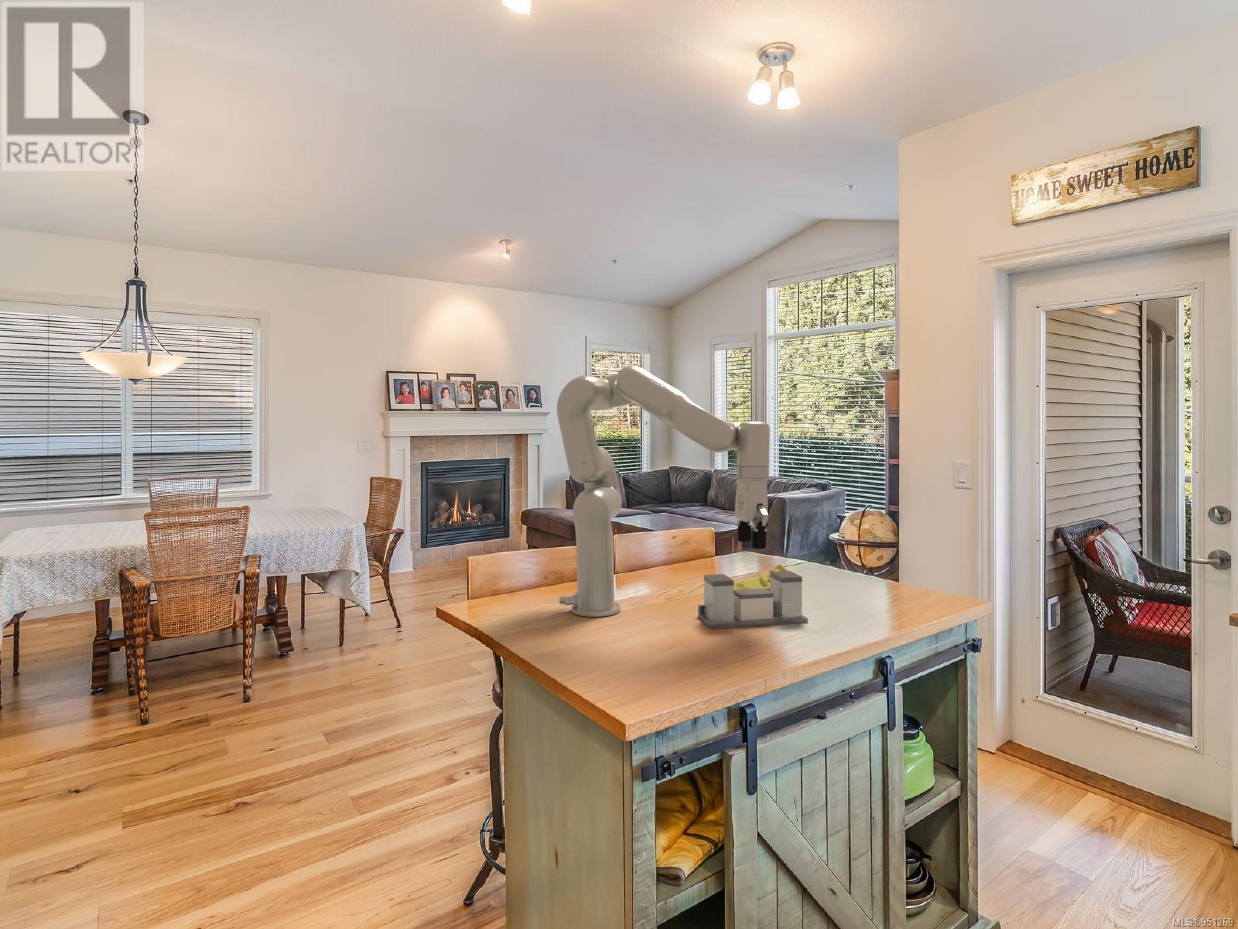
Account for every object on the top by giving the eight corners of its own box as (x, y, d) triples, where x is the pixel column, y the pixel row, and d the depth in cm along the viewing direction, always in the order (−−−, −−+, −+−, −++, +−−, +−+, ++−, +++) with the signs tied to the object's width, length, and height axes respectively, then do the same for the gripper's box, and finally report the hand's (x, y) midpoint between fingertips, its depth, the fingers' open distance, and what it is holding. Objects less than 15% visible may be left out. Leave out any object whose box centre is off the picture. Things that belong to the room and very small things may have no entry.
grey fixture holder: (710, 628, 153) (710, 582, 152) (698, 617, 163) (697, 573, 162) (807, 622, 157) (807, 577, 156) (789, 611, 167) (789, 569, 166)
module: (740, 620, 156) (740, 595, 155) (733, 614, 161) (733, 590, 160) (773, 618, 157) (773, 593, 157) (765, 612, 162) (765, 588, 162)
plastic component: (736, 594, 176) (718, 571, 184) (731, 615, 179) (714, 592, 187) (798, 582, 183) (778, 560, 191) (793, 602, 186) (774, 581, 194)
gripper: (725, 471, 165) (724, 539, 166) (750, 476, 148) (749, 551, 149) (754, 471, 166) (753, 538, 167) (782, 476, 149) (780, 551, 150)
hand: (751, 544), depth 158 cm, fingers open, 9 cm apart
